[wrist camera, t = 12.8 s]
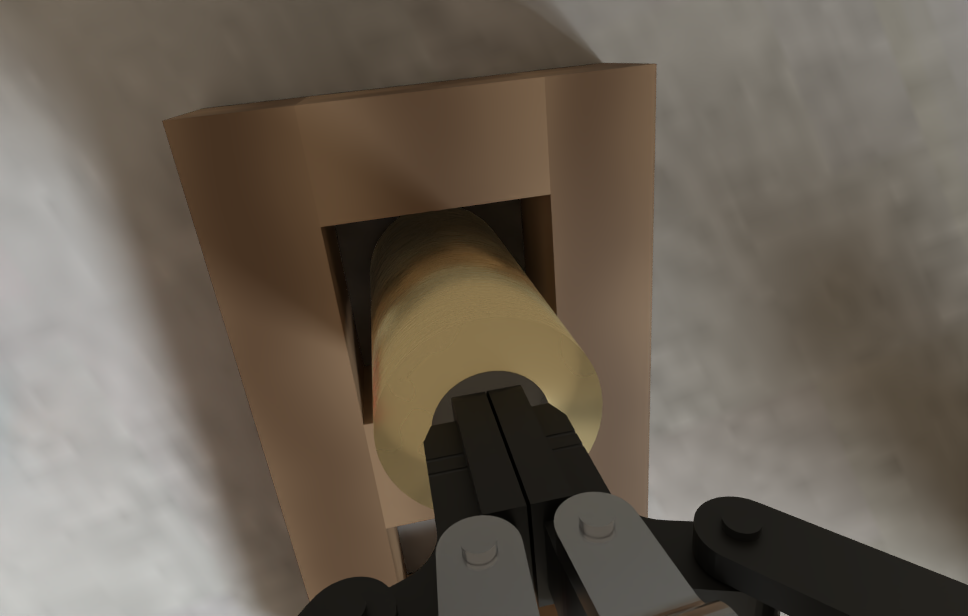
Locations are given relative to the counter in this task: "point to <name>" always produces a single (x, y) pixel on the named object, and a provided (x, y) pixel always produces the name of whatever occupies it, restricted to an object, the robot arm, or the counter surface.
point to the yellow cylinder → (461, 338)
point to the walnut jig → (402, 191)
